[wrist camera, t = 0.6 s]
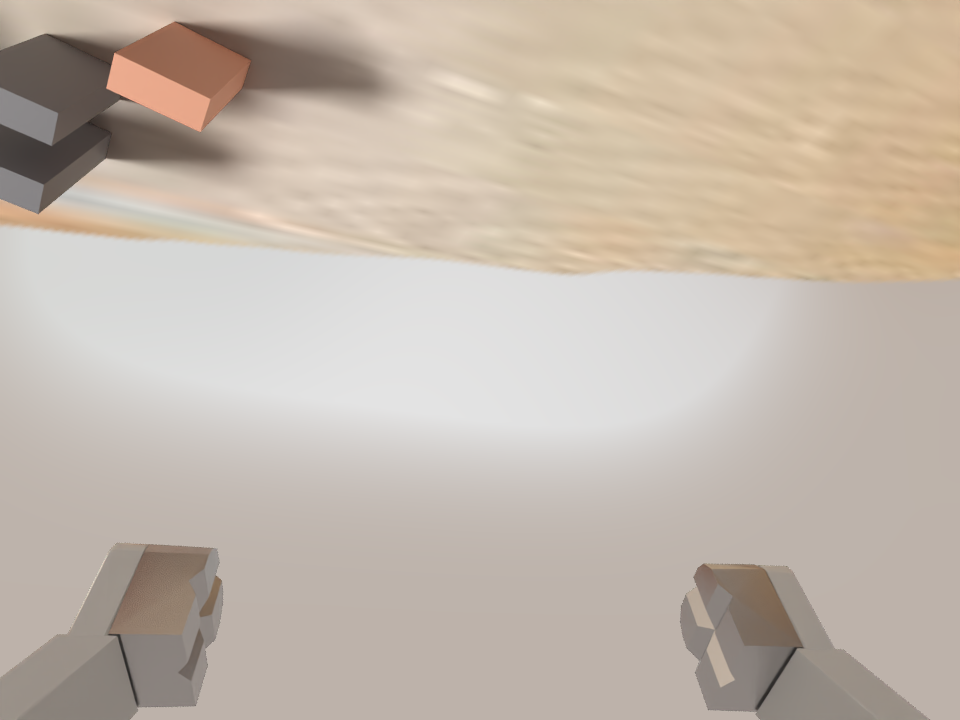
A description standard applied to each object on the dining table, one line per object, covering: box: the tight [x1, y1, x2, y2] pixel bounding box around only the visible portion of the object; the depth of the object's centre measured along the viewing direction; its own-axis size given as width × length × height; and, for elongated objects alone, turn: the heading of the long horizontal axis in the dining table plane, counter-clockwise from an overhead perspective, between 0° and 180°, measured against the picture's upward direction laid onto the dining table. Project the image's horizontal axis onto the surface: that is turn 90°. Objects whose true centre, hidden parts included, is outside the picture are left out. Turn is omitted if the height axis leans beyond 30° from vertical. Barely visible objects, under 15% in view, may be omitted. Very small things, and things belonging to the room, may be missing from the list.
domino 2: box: [0, 122, 111, 214], centre depth 43 cm, size 2×5×10 cm, turn 62°
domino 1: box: [0, 34, 121, 146], centre depth 41 cm, size 2×5×10 cm, turn 62°
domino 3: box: [106, 22, 251, 132], centre depth 41 cm, size 2×5×10 cm, turn 62°
